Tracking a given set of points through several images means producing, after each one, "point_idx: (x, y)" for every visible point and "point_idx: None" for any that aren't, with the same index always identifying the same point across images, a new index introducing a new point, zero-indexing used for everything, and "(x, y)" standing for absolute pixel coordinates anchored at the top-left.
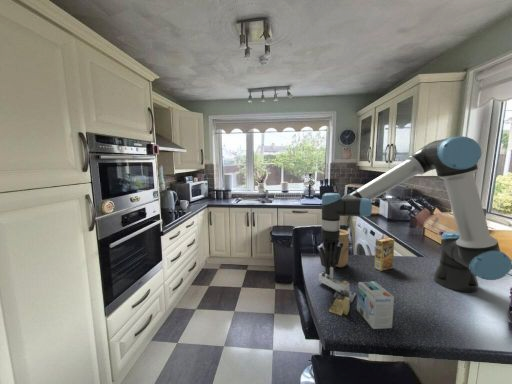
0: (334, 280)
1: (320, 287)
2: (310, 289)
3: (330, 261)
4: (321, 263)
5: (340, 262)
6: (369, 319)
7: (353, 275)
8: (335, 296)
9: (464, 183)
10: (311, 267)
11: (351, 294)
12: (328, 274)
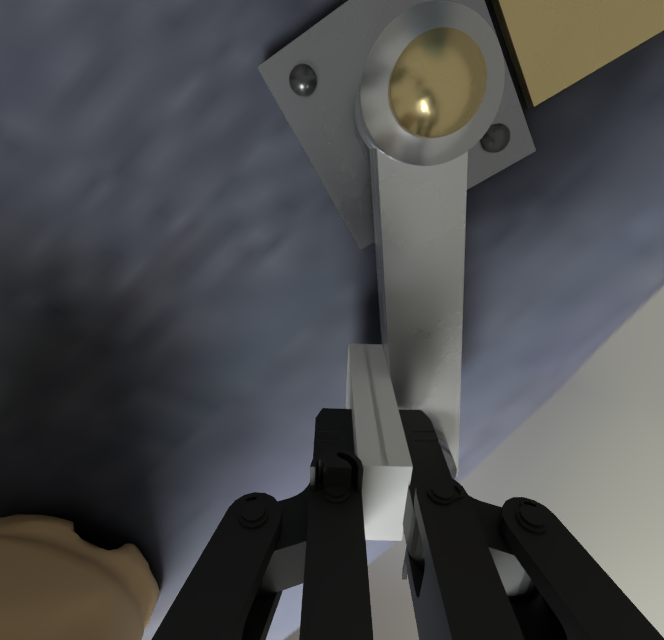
0: (419, 294)
1: (474, 349)
2: (580, 360)
3: (449, 603)
4: (549, 607)
5: (26, 560)
6: None
7: (17, 381)
8: (527, 128)
9: None
10: (289, 590)
11: (330, 66)
12: (412, 412)
